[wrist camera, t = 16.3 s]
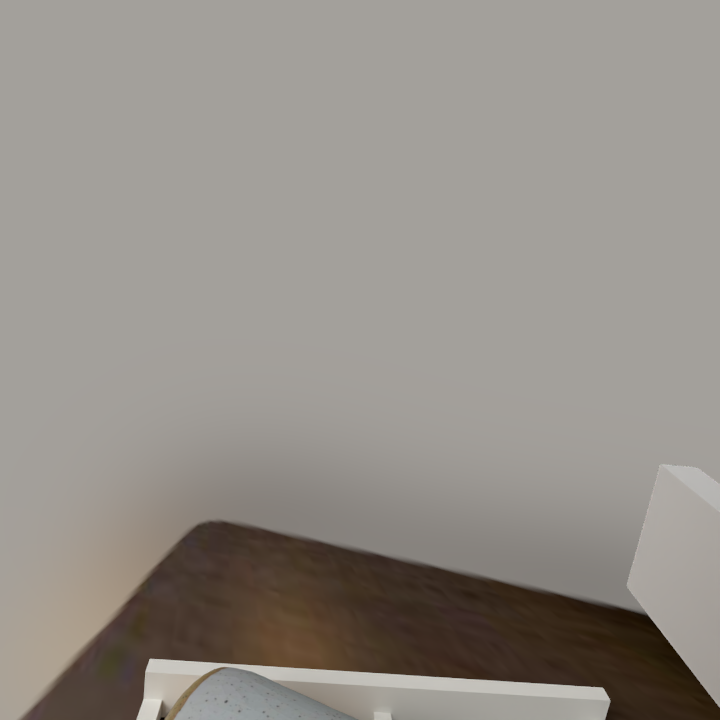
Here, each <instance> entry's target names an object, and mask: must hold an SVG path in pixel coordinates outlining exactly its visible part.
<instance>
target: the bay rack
mask: <svg viewBox="0 0 720 720" xmlns="http://www.w3.org/2000/svg"><path fill="white" fill-rule="evenodd" d="M220 667H232V668H238V669H243V670H247V671H252V672H254V673H257V674H259V675H261V676H263V677H266V678H268V679H270V680H272V681H274V682H276V683H278V684H280V685H282V686H284V687H287V688H289V689H291V690H294V691H296V692H298V693H301V694H303V695H305V696H307V697H309V698H311V699H313V700H316V701H318V702H320V703H322V704H324V705H326V706H329V707H331V708H333V709H335V710H337V711H340V712H342V713H345V714H347V715H349V716H352V717H354V718H356V719H358V720H605V718H606V715H607V711H608V708H609V704H610V699H609V697H608V696H607V694H606V692H605V690H604V689H603V688H599V687H583V686H567V685H552V684H536V683H520V682H505V681H489V680H473V679H458V678H442V677H427V676H411V675H395V674H380V673H364V672H348V671H333V670H317V669H301V668H286V667H270V666H254V665H239V664H223V663H208V662H192V661H176V660H161V659H150V660H149V663H148V666H147V669H146V672H145V686H144V700H143V703H142V706H141V708H140V711H139V714H138V717H137V720H160V719H161V717H164V718H166V716H167V714H168V713H169V711H170V710H171V709H172V707H173V706H174V704H175V703H176V702H177V700H178V699H179V698H180V696H181V695H182V694H183V693H184V692H185V691H186V690H187V689H188V688H189V687H190V686H191V685H192V684H193V683H194V682H195V681H196V680H198V679H199V678H200V677H202V676H203V675H204V674H206V673H208V672H210V671H212V670H214V669H217V668H220Z"/></svg>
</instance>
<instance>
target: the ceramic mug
mask: <svg viewBox="0 0 720 720" xmlns="http://www.w3.org/2000/svg"><path fill="white" fill-rule="evenodd" d="M164 720H358V719H356V718H354V717H352V716H349V715H347V714H345V713H342V712H340V711H337V710H335V709H333V708H331V707H329V706H326V705H324V704H322V703H320V702H318V701H316V700H313V699H311V698H309V697H307V696H305V695H303V694H301V693H298V692H296V691H294V690H291V689H289V688H287V687H284V686H282V685H280V684H278V683H276V682H274V681H272V680H270V679H268V678H266V677H263V676H261V675H259V674H257V673H254V672H252V671H247V670H243V669H238V668H232V667H220V668H217V669H214V670H212V671H210V672H208V673H206V674H204V675H203V676H202V677H200V678H199V679H198V680H196V681H195V682H194V683H193V684H192V685H191V686H190V687H189V688H188V689H187V690H186V691H185V692H184V693H183V694H182V695H181V696H180V698H179V699H178V700H177V702H176V703H175V704H174V706H173V707H172V709H171V710H170V711H169V713H168V714H167V716H166V718H165V719H164Z"/></svg>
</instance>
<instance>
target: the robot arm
mask: <svg viewBox="0 0 720 720" xmlns="http://www.w3.org/2000/svg"><path fill="white" fill-rule="evenodd" d="M627 588H628V589H629V590H630V592H631V593H632V594H633V595H634V597H635V598H636V599H637V601H638V602H639V603H640V605H641V606H642V607H643V609H644V610H645V611H646V612H647V614H648V615H649V616H650V618H651V619H652V620H653V622H654V623H655V624H656V625H657V627H658V628H659V629H660V631H661V632H662V633H663V635H664V636H665V637H666V638H667V640H668V641H669V642H670V644H671V645H672V646H673V648H674V649H675V650H676V651H677V653H678V654H679V655H680V657H681V658H682V659H683V661H684V662H685V663H686V664H687V666H688V667H689V668H690V670H691V671H692V672H693V674H694V675H695V676H696V677H697V679H698V680H699V681H700V683H701V684H702V685H703V687H704V688H705V689H706V690H707V692H708V693H709V694H710V696H711V697H712V698H713V700H714V701H715V702H716V703H717V705H718V706H719V707H720V484H719V483H718V482H716V481H715V480H713V479H712V478H711V477H709V476H708V475H707V474H705V473H704V472H703V471H701V470H700V469H699V468H697V467H687V466H677V465H665V464H660V467H659V471H658V474H657V478H656V481H655V485H654V489H653V492H652V496H651V499H650V503H649V507H648V510H647V514H646V517H645V522H644V525H643V528H642V532H641V536H640V540H639V543H638V546H637V550H636V553H635V557H634V561H633V564H632V568H631V571H630V575H629V579H628V583H627Z"/></svg>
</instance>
